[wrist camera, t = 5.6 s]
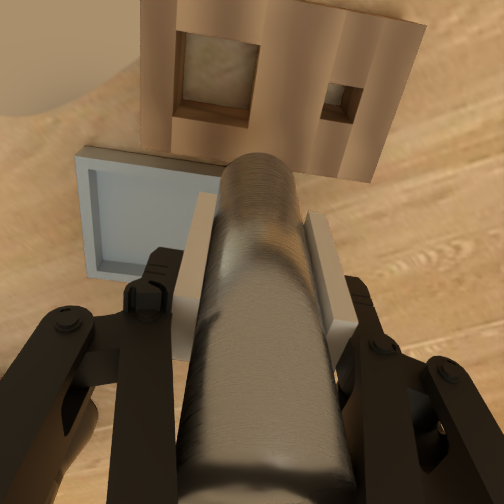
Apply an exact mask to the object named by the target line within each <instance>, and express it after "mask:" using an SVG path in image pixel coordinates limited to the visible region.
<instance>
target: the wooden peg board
mask: <svg viewBox="0 0 504 504" xmlns="http://www.w3.org/2000/svg"><path fill="white" fill-rule="evenodd" d="M426 27H427V26H426V25H422V24H418V23H414V22H410V21H406V20H402V19H397V18H392V17H386V16H381V15H376V14H371V13H366V12H360V11H355V10H350V9H345V8H339V7H334V6H329V5H324V4H319V3H313V2H308V1H303V0H140V36H141V37H140V43H141V44H140V47H141V48H140V51H141V52H140V59H141V149H146V150H153V151H159V152H166V153H173V154H179V155H186V156H193V157H199V158H206V159H213V160H219V161H226V162H232V161H233V160H234V159H236V158H238V157H239V156H242V155H244V154H248V153H254V152H260V153H267V154H270V155H273V156H275V157H277V158H279V159H280V160H282V161H283V162H284V163H285V164H286V165H287V166H288V167H289V169H290V170H291V171H292V172H299V173H306V174H312V175H319V176H326V177H332V178H339V179H346V180H352V181H359V182H365V183H370V182H371V180H372V177H373V174H374V171H375V169H376V166H377V163H378V160H379V157H380V155H381V152H382V149H383V146H384V144H385V141H386V138H387V135H388V132H389V130H390V127H391V124H392V121H393V119H394V116H395V113H396V110H397V107H398V105H399V102H400V99H401V96H402V93H403V91H404V88H405V85H406V82H407V80H408V77H409V74H410V71H411V68H412V66H413V63H414V60H415V57H416V55H417V52H418V49H419V46H420V43H421V41H422V38H423V35H424V32H425V30H426ZM186 32H189V33H195V34H200V35H206V36H211V37H217V38H222V39H228V40H234V41H239V42H245V43H250V44H256V45H258V50H257V56H256V63H255V70H254V77H253V83H252V90H251V97H250V103H249V110H244V109H238V108H232V107H226V106H220V105H214V104H208V103H201V102H195V101H189V100H183V81H184V63H185V45H186ZM329 83H335V84H341V85H346V88H345V91H344V95H343V98H342V102H341V105H340V106H335V105H329V104H324V100H325V96H326V92H327V88H328V84H329Z"/></svg>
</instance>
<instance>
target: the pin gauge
mask: <svg viewBox="0 0 504 504" xmlns="http://www.w3.org/2000/svg"><path fill="white" fill-rule="evenodd" d="M176 466H177V491H178V504H348V503H349V502H350V500H351V499H352V498H353V496H354V495H355V494H356V492H357V486H356V481H355V476H354V471H353V466H352V461H351V456H350V451H349V447H348V442H347V437H346V432H345V427H344V422H343V417H342V412H341V407H340V402H339V397H338V392H337V388H336V383H335V378H334V373H333V368H332V363H331V358H330V353H329V348H328V343H327V338H326V333H325V328H324V324H323V319H322V314H321V309H320V304H319V299H318V294H317V289H316V284H315V279H314V274H313V269H312V265H311V260H310V255H309V250H308V245H307V240H306V235H305V230H304V225H303V220H302V215H301V210H300V206H299V201H298V196H297V191H296V186H295V181H294V177H293V174H292V172H291V170H290V169H289V167H288V166H287V165H286V164H285V163H284V162H283V161H282V160H280V159H279V158H277V157H275V156H273V155H270V154H267V153H260V152H254V153H248V154H244V155H242V156H239V157H238V158H236V159H234V160H233V161H232V162H231V163H230V164H229V165H228V166H227V167H226V168H225V170H224V171H223V173H222V176H221V178H220V183H219V189H218V195H217V201H216V207H215V213H214V219H213V225H212V231H211V237H210V243H209V249H208V255H207V261H206V267H205V273H204V279H203V285H202V291H201V297H200V303H199V309H198V315H197V321H196V327H195V333H194V339H193V345H192V351H191V357H190V363H189V369H188V375H187V381H186V387H185V393H184V399H183V405H182V411H181V417H180V423H179V429H178V435H177V441H176Z"/></svg>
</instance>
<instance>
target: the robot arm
mask: <svg viewBox="0 0 504 504" xmlns="http://www.w3.org/2000/svg"><path fill="white" fill-rule="evenodd" d="M216 200H217V194H211V193H205V192H200V191H199V195H198V199H197V203H196V207H195V211H194V215H193V219H192V223H191V227H190V231H189V235H188V239H187V243H186V246H185V250H178V249H172V248H165V247H158V248H157V249H156V250H154V251H153V252H152V253H151V254H150V256H149V259H148V261H147V265H146V267H145V269H144V273H143V275H142V277H141V278H139V279H137V280H134V281H132V282H130V283H129V284H128V285H127V286H126V288H125V290H124V301H123V311H121V312H118V313H116V314H112V315H106V316H96V317H93V315H92V313H91V312H90V311H88V310H87V309H86V308H83V307H80V306H69V305H68V306H63V307H59V308H56V309H54V310H52V311H50V312H49V313H48V314H47V315H46V316H45V317H44V318H43V319H42V320H41V322H40V323H39V325H38V326H37V328H36V329H35V331H34V332H33V334H32V335H31V337H30V338H29V339H28V341H27V342H26V344H25V345H24V347H23V348H22V350H21V351H20V353H19V354H18V356H17V357H16V359H15V360H14V361H13V363H12V364H11V366H10V367H9V369H8V370H7V372H6V373H5V375H4V376H3V378H2V379H1V380H0V504H53V503H54V500H55V497H56V495H57V492H58V489H59V486H60V484H61V481H62V479H63V476H64V474H65V472H66V471H67V469H68V468H69V467H70V465H71V464H72V463H73V461H74V460H75V459H76V457H77V456H78V455H79V453H80V452H81V450H82V449H83V448H84V446H85V445H86V444H87V442H88V441H89V440H90V438H91V436H92V434H93V432H94V429H95V426H96V423H97V420H98V413H97V409H96V407H95V406H94V404H93V403H92V401H91V400H90V397H91V395H92V393H93V391H94V388H95V386H99V385H105V384H111V383H117V390H116V401H115V412H114V423H113V434H112V446H111V457H110V468H109V479H108V490H107V501H106V504H178V491H177V466H176V442H175V418H174V393H173V369H172V359H173V360H181V361H188V362H190V357H191V351H192V345H193V339H194V333H195V327H196V321H197V315H198V309H199V303H200V297H201V291H202V285H203V279H204V273H205V267H206V261H207V255H208V249H209V243H210V237H211V231H212V225H213V219H214V213H215V206H216ZM304 230H305V235H306V240H307V245H308V250H309V255H310V260H311V265H312V269H313V274H314V279H315V284H316V289H317V294H318V299H319V304H320V309H321V314H322V319H323V324H324V328H325V333H326V338H327V343H328V348H329V353H330V358H331V363H332V368H333V373H334V372H335V370H336V372H337V376H338V381H337V383H336V388H337V392H338V397H339V402H340V407H341V412H342V417H343V422H344V427H345V432H346V437H347V442H348V447H349V451H350V456H351V461H352V466H353V471H354V476H355V481H356V486H357V492H356V494H355V495H354V496H353V498H352V499H351V500H350V502H349V503H348V504H504V434H503V433H502V431H501V429H500V428H499V426H498V424H497V422H496V421H495V419H494V417H493V416H492V414H491V412H490V410H489V409H488V407H487V405H486V404H485V402H484V400H483V398H482V397H481V395H480V393H479V392H478V390H477V388H476V386H475V385H474V383H473V381H472V380H471V378H470V376H469V375H468V373H467V372H466V371H465V369H464V368H463V367H461V366H460V365H459V364H458V363H457V362H455V361H453V360H451V359H449V358H447V357H443V356H433V357H431V358H430V359H429V360H428V361H427V362H426V363H424V362H421V361H419V360H416V359H414V358H411V357H408V356H406V355H404V354H402V352H401V350H400V347H399V345H398V344H397V343H396V342H395V341H394V340H393V339H392V338H391V337H389V336H388V335H386V334H384V332H383V329H382V326H381V324H380V321H379V318H378V316H377V313H376V310H375V307H373V302H372V299H370V294H369V291H368V288H367V286H366V285H365V284H364V283H363V282H362V281H361V280H360V278H358V277H352V276H346V275H344V273H343V270H342V267H341V264H340V260H339V257H338V254H337V251H336V247H335V244H334V241H333V237H332V234H331V231H330V228H329V224H328V221H327V218H326V214H324V213H318V212H313V211H308V214H307V217H306V220H305V223H304ZM441 424H442V426H443V428H442V426H441ZM443 429H444V430H443ZM444 431H445V432H444Z"/></svg>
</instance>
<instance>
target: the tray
mask: <svg viewBox="0 0 504 504" xmlns="http://www.w3.org/2000/svg"><path fill="white" fill-rule="evenodd" d="M75 165H76V175H77V184H78V194H79V204H80V213H81V223H82V232H83V242H84V252H85V261H86V271H87V278H95V279H103V280H112V281H120V282H128V283H130V282H132V281H134V280H137V279H139V278H141V277H142V275H143V273H144V269H145V267H146V265H147V261H148V259H149V256H150V254H151V253H152V252H153V251H154V250H156V249H157V248H158V247H165V248H172V249H178V250H185V246H186V243H187V239H188V235H189V231H190V227H191V223H192V219H193V215H194V211H195V207H196V203H197V199H198V195H199V191H200V192H205V193H211V194H217V195H218V189H219V183H220V178H221V176H222V173H223V171H224V170H225V168H226V167H225V166H219V165H212V164H205V163H199V162H192V161H185V160H179V159H172V158H165V157H158V156H152V155H145V154H138V153H132V152H125V151H118V150H112V149H105V148H98V147H92V146H84V147H83V148H82V149H81V150H80V151H79V152H78V153H77V154H76V155H75ZM216 201H217V200H216ZM215 207H216V206H215Z"/></svg>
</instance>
